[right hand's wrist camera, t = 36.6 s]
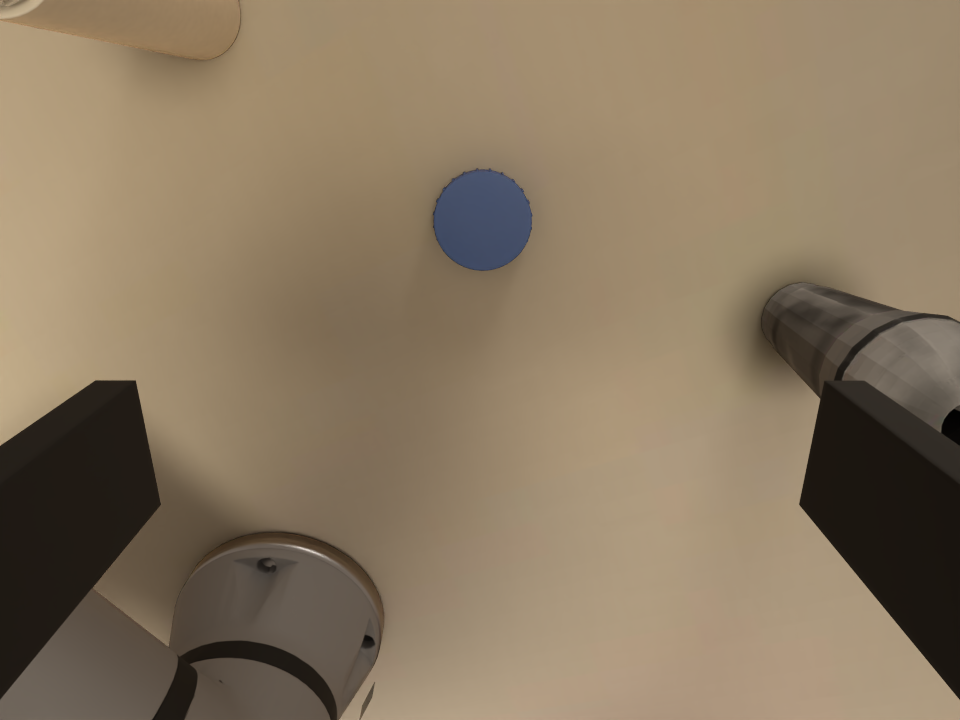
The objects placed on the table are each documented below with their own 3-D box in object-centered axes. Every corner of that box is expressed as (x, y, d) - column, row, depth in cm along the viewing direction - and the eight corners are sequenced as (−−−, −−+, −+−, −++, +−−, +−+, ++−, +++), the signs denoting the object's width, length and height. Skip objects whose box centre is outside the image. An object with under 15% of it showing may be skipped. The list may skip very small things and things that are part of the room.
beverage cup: (721, 354, 42) (913, 544, 23) (768, 246, 40) (1025, 363, 21) (823, 382, 43) (1090, 587, 24) (875, 277, 40) (1217, 417, 22)
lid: (543, 184, 39) (545, 186, 37) (514, 276, 41) (516, 283, 39) (448, 156, 38) (447, 157, 37) (424, 251, 40) (422, 256, 39)
